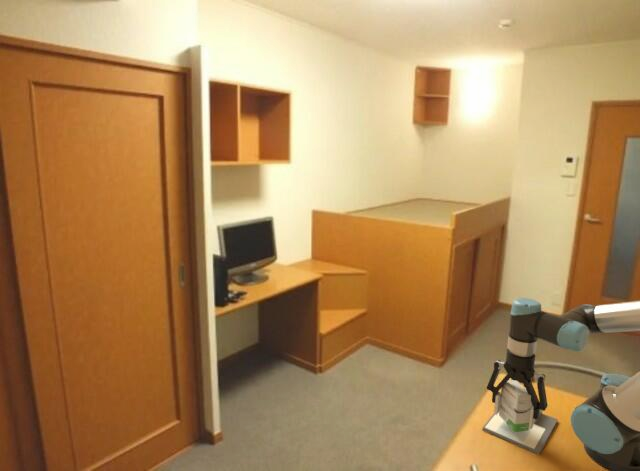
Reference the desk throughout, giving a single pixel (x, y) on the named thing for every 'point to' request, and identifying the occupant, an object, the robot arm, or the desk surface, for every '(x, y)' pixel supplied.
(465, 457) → the desk surface
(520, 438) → the colouring board
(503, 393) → the ink box
